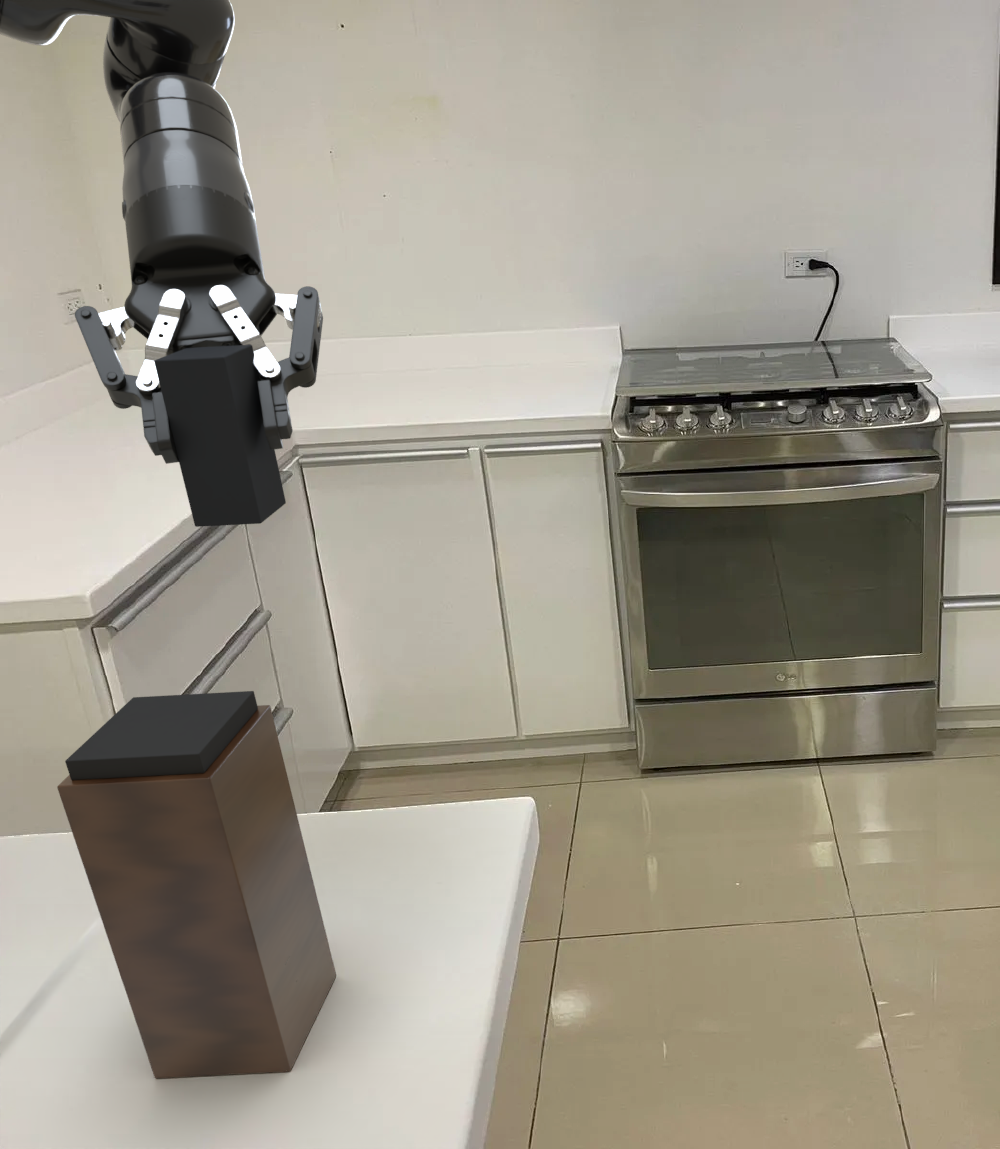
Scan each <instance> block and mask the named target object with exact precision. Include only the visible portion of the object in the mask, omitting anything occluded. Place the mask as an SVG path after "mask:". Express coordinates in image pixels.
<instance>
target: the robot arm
mask: <svg viewBox="0 0 1000 1149" xmlns="http://www.w3.org/2000/svg"><path fill="white" fill-rule="evenodd" d="M75 16H93V17H94V16H95V17H106V18H110V19H109V23H108V28H107V31H106V36H105V38H104V45H103V52H102V53H103V54H102V70H103V71H102V72H103V80H104V86H105V89H106V90H105V91H106V93H107V96H108V97H109V98H108V99H109V101H110V104H111V106H112V109H113V112H114V114H115V116H116V118H117V120H118V122H119V128H120V143H121V152H122V162H123V177H122V188H121V189H122V201H121V212H122V219H123V220H124V223H125V233H126V243H127V250H128V261H129V272H130V280H131V289H130V292H129V294H128V295H127V297H126V298H125V300H124V305H123V306H120V307H117V308H113V309H109V310H104V311H101V312H98V310H97V309H96V307H94V306H90V305H83V306H80V307H79V308H77V309H76V310H75V312H74V318H75V321H76V323H77V326H78V327H79V330H80V332H81V335H82V337H83V340H84V342H85V345H86V347H87V349H88V352H89V354H90V356H91V359H92V362H93V364H94V366H95V369H96V372H97V374H98V376H99V378H100V381H101V382H102V384H103V386H104V388H106V390H107V392H108V395H109V397H110V400H111V401H112V404H113V405H114V406H115V408H117V409H122V410H125V409H130V408H132V407H137V408H140V409H141V418H142V427H143V429H142V430H143V436H144V438H145V441H146V443H147V445H148V446H149V448H150V450H151V452H152V453H153V455H154V456H156V457H157V456H161V457H162V459H163V461H164V463H165V464H166V465H167V464H175V463H179V459H178V455H177V451H176V447H175V443H174V439H173V435H172V431H171V427H170V423H169V419H168V415H167V411H166V407H165V403H164V399H163V395H162V391H161V387H160V383H159V379H158V375H157V371H156V367H155V363H154V361H155V360H157V359H159V358H162V357H165V356H167V355H170V354H172V353H175V352H178V351H180V350H183V349H185V348H195V347H215V346H235V345H252V347H253V352H254V361H253V364H254V366H255V368H256V370H257V372H258V375H259V380H260V381H257V382H258V389H259V395H260V402H261V409H262V415H263V422H264V428H265V433H266V437H267V440H268V443H269V447H270V449H271V450H274V449H275V450H281V449H284V445H283V440H288V439H289V440H290V439H291V438H292V435H293V431H294V430H293V426H292V425H293V424H292V419H291V411H290V407H289V406H290V405H289V398H288V396H289V394H290V392H291V391H293V390H294V389H296V388H298V387H300V388H303V389H305V388H311V387H313V386H314V385H315V384H316V381H317V375H318V374H317V373H318V365H319V357H320V348H321V339H322V333H323V332H322V331H323V323H324V316H323V311H322V306H321V300H320V296H319V292H318V290H317V288H315V287H313V286H302V287H300V288H299V289H298V290H297V294H292V293H291V294H290V293H279V292H278V293H277V292H275V291H274V289H273V287H272V286H271V285H270V284H269V283H268V282H267V280H266V276H265V270H264V264H263V258H262V252H261V246H260V238H259V233H258V226H257V221H256V219H257V218H256V214H255V204H254V200H253V197H252V192H251V188H250V184H249V182H248V180H247V177H246V174H245V170H244V166H243V159H242V151H241V146H240V139H239V132H238V127H237V124H236V121H235V118H234V115H233V112H232V109H231V108H230V106H229V104H228V102H227V101H226V99H225V98H224V97H223V96H222V94H221V93H220V92H219V91H218V90H217V89H216V85H217V82H218V78H219V76H220V72H221V69H222V66H223V63H224V60H225V57H226V53H227V51H228V48H229V45H230V42H231V39H232V36H233V33H234V28H235V12H234V8H233V5H232V3H231V1H230V0H0V36H4V37H7V38H9V39H12V40H15V41H18V42H21V43H26V44H28V45H33V46H43V47H44V46H48V45H50V44H52V43H53V42H55V41H56V40H57V38H58V37H59V35H61V33H62V31H63V30H64V27H65V26H66V24H67V22H68V21H69V20H70V19H72V18H73V17H75ZM277 315H280V316H282V317H283V318H284V320H285V324H286V326H287V328H288V329H290V330H292V332H291V340H290V348H289V356H288V357H286V358H284V359H281V360H279V361H277V359H276V358H275V357H274V355H273V354H272V353H271V351H270V349H269V348H268V346H267V345H266V343H265V341H264V339H263V334H264V333H265V332H266V331H267V329H268V328H269V327H270V325H272V324H271V323H272V322H273V321H274V320H275V318H276V317H277ZM132 328H133V329H134V330H135V331H137V332H138V333H139V334H140V335H142V336H143V337H144V338H145V339H146V340H147V341H146V343H145V347H144V359H143V361H142V365H141V367H140V369H139V372H138V375H134V374H133V375H132V374H127V373H125V370H124V368H123V365H122V363H121V361H120V359H119V356H118V354H117V352H116V351H120V350H122V349H123V345H124V344H125V343H126V334H127V331H128V330H130V329H132Z"/></svg>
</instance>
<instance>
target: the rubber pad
mask: <svg viewBox="0 0 1000 1149" xmlns="http://www.w3.org/2000/svg"><path fill="white" fill-rule="evenodd" d="M258 706H259V705H258V702H257V699H256V694H255V691H254V690H244V691H225V692H208V693H207V692H206V693H190V694H188V693H187V694H171V695H152V696H151V695H150V696H133V697H132V698H131V699H130V700H128V702H126V704H124V705H123V706H122V707H121V708H120V709H119V710H118V711H117V712H116V713H115V714H113V716H111V718H109V719H108V720H107V721H106V722H105V723H104V724H103V725H102V726H101V727H100V728H98V729H97V730H96V731H95V732H94V733H93V734H92V735H91V736H90V737H89V738H88V739H87V740H86V741H85V742H83V743H82V744H81V745H80V747H78V748H77V749H76V750H75V751H74V752H73V753H72V754H71V755H70V756H69V757H68V758H67V759H65V761H64V762H65V766H66V768H67V771H68V776H69V775H70V778H71V780H86V779H105V778H124V777H142V776H161V775H180V774H199V773H205V772H206V770H207V769H208V768H209V767H210V766H211V764H212V763H213V762H214V761H215V760H216V758H217V757H218V756H219V755H220V754H221V752H222V751H223V750H224V749H225V748H226V746H227V745H228V744H229V743H230V742H231V740H232V739H233V738H234V737H235V736H236V735H237V733H238V732H239V731H240V730H241V729H242V727H243V726H244V725H245V724H246V723H247V721H248V720H249V719H250V718H251V717H252V715H253V714H254V713H255V712H256V711H257V709H258Z"/></svg>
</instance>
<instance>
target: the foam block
mask: <svg viewBox="0 0 1000 1149" xmlns="http://www.w3.org/2000/svg"><path fill="white" fill-rule="evenodd" d="M253 361H254V352H253V347H252V345H235V346H215V347H195V348H185V349H183V350H180V351H178V352H175V353H172V354H170V355H167V356H165V357H162V358H159V359H157V360H155V361H154V363H155V367H156V371H157V375H158V379H159V383H160V387H161V391H162V395H163V399H164V403H165V407H166V411H167V415H168V419H169V423H170V427H171V431H172V435H173V439H174V443H175V447H176V451H177V455H178V459H179V462H178V464H179V468H180V471H181V475H182V480H183V484H184V487H185V492H186V496H187V499H188V504H189V508H190V512H191V516H192V519H193V520H192V521H193V524H194V527H196V528H198V527H199V528H201V527H218V526H238V525H241V526H242V525H257V524H258V525H259V524H262V523H264V522H265V521H266V520H267V519H269V518H270V517H271V516H272V515H273V514H275V513H276V512H277V511H279V509H281V508H282V507H283V506H285V505H286V503H287V502H286V501H287V500H286V496H285V492H284V491H285V490H284V487H283V483H282V478H281V474H280V468H279V464H278V460H277V455H276V449H274V450H271V449H270V447H269V443H268V440H267V437H266V433H265V428H264V422H263V415H262V409H261V402H260V395H259V389H258V382H257V381H260V380H259V375H258V372H257V370H256V368H255V366H254V364H253Z"/></svg>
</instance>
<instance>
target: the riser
mask: <svg viewBox="0 0 1000 1149" xmlns="http://www.w3.org/2000/svg"><path fill="white" fill-rule="evenodd" d="M257 706H258V709H257V711H256V712H255V713H254V714H253V715H252V717H251V718H250V719H249V720H248V721H247V723H246V724H245V725H244V726H243V727H242V729H241V730H240V731H239V732H238V733H237V735H236V736H235V737H234V738H233V739H232V740H231V742H230V743H229V744H228V745H227V746H226V748H225V749H224V750H223V751H222V752H221V754H220V755H219V756H218V757H217V758H216V760H215V761H214V762H213V763H212V764H211V766H210V767H209V768H208V769H207V770H206V772H205V773H199V774H180V775H161V776H142V777H124V778H105V779H86V780H71V778H70V775H69V774H68V775H67V776H66V777H65V778H64V779H63V780H62V781H61V782H60V783H59V784H57V786H56V788H57V791H58V794H59V797H60V800H61V803H62V806H63V810H64V813H65V815H66V819H67V821H68V824H69V827H70V830H71V833H72V836H73V839H74V841H75V842H74V843H75V846H76V848H77V851H78V854H79V856H80V860H81V863H82V865H83V869H84V871H85V874H86V878H87V880H88V883H89V887H90V889H91V892H92V895H93V898H94V901H95V905H96V907H97V909H98V914H99V917H100V919H101V922H102V926H103V928H104V932H105V935H106V937H107V940H108V943H109V946H110V950H111V952H112V955H113V958H114V961H115V963H116V967H117V970H118V973H119V976H120V979H121V982H122V984H123V985H122V986H123V988H124V990H125V991H124V992H125V993H126V996H127V999H128V1002H129V1005H130V1008H131V1011H132V1015H133V1017H134V1021H135V1023H136V1027H137V1029H138V1032H139V1035H140V1038H141V1041H142V1044H143V1047H144V1050H145V1053H146V1057H147V1059H148V1063H149V1065H150V1068H151V1071H152V1074H153V1077H154V1079H168V1078H187V1077H207V1076H226V1075H227V1076H228V1075H243V1074H245V1075H246V1074H247V1075H248V1074H263V1073H279V1072H280V1073H283V1072H284V1073H285V1072H291V1071H292V1069H293V1067H294V1064H295V1063H296V1060H297V1058H298V1056H299V1054H300V1052H301V1050H302V1048H303V1045H304V1044H305V1042H306V1040H307V1037H308V1035H309V1034H310V1032H311V1029H312V1027H313V1025H314V1023H315V1021H316V1019H317V1017H318V1016H319V1012H320V1010H321V1008H322V1006H323V1004H324V1002H325V1000H326V998H327V996H328V994H329V992H330V989H331V987H332V986H333V984H334V982H335V979H336V977H337V972H336V968H335V964H334V960H333V955H332V952H331V948H330V943H329V939H328V935H327V932H326V927H325V924H324V919H323V915H322V911H321V908H320V907H321V906H320V903H319V898H318V894H317V891H316V890H317V889H316V886H315V883H314V878H313V875H312V870H311V866H310V862H309V858H308V854H307V850H306V845H305V841H304V838H303V834H302V829H301V826H300V821H299V817H298V814H297V810H296V805H295V801H294V797H293V792H292V789H291V785H290V780H289V777H288V773H287V768H286V765H285V761H284V760H285V759H284V756H283V752H282V748H281V744H280V740H279V735H278V731H277V728H276V724H275V720H274V715H273V712H272V711H273V710H272V707H271V705H270V704H263V705H262V704H261V705H257Z"/></svg>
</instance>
